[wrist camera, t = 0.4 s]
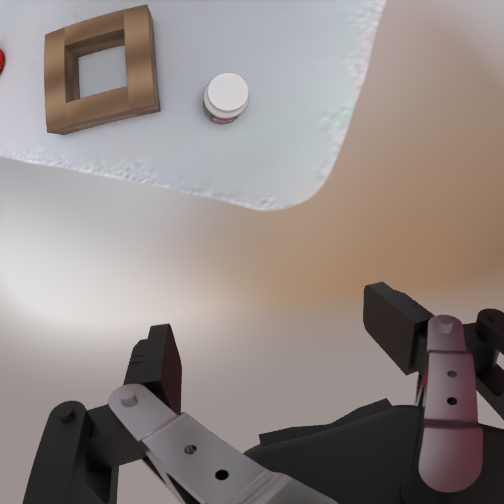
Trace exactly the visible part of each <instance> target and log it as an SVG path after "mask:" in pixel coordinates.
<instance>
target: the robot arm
mask: <svg viewBox="0 0 504 504" xmlns="http://www.w3.org/2000/svg"><path fill="white" fill-rule="evenodd" d="M363 322H364V326H365V329H366V331H367V332H368V333H369V334H370V335H371V337H373V339H374V340H375V341H376V342H377V343H378V344H379V345H380V347H381V348H382V349H383V350H384V351H385V352H386V353H387V354H388V356H389V357H390V358H391V359H392V360H393V361H394V362H395V363H396V365H397V366H398V367H399V368H400V369H401V370H402V371H403V372H404V374H405V375H409V374H411V373H414V372H416V371H418V372H419V375H418V379H417V387H416V395H415V402H414V405H395V406H392V405H391V404H390V402H389V401H388V399H386V398H385V399H383V400H380V401H377V402H374V403H372V404H369V405H366V406H363V407H360V408H358V409H356V410H354V411H352V412H351V413H349V414H347V415H345V416H344V417H342V418H340V419H338V420H336V421H335V422H333V423H331V424H327V425H317V426H302V427H291V428H286V429H282V430H278V431H273V432H269V433H264V434H259V438H260V444H259V445H257V446H254V447H253V448H251V449H249V450H247V451H246V452H244V453H243V454H242V453H241V452H239V451H238V450H236V449H235V448H233V447H232V446H231V445H229V444H228V443H226V442H225V441H223V440H222V439H220V438H219V437H218V436H216V435H215V434H214V433H212V432H211V431H210V430H208V429H207V428H206V427H204V426H203V425H202V424H200V423H199V422H198V421H196V420H195V419H194V418H192V417H191V416H190V415H189V414H187V413H185V412H183V413H181V382H182V366H181V360H180V356H179V352H178V349H177V346H176V342H175V339H174V335H173V332H172V328H171V326H170V324H162V325H155V326H151V327H150V331H149V336H148V339H144V340H140V341H139V342H138V343H137V344H136V345H135V347H134V348H133V351H132V355H131V358H130V361H129V365H128V369H127V372H126V376H125V380H124V384H123V386H121V387H119V388H117V389H116V390H115V391H113V393H112V394H111V395H110V397H109V399H108V404H107V405H104V406H101V407H97V408H94V409H91V410H86V408H85V407H84V405H83V404H82V403H80V402H78V401H67V402H64V403H61V404H59V405H58V406H57V407H55V408H54V409H53V410H52V411H51V413H50V415H49V418H48V420H47V423H46V426H45V429H44V432H43V435H42V438H41V441H40V444H39V447H38V450H37V453H36V457H35V460H34V463H33V467H32V470H31V474H30V477H29V481H28V485H27V488H26V492H25V496H24V500H23V504H117V486H118V472H119V465H123V464H126V463H129V462H133V461H136V460H139V459H141V461H142V462H143V463H144V464H145V465H146V466H147V467H148V469H149V470H150V471H151V472H152V473H153V474H154V475H155V476H156V477H157V478H158V479H159V480H160V481H161V482H162V483H163V484H164V485H165V486H166V488H168V490H170V492H171V493H172V494H173V495H174V496H175V497H176V498H177V500H178V501H179V502H180V503H181V504H504V429H500V428H496V427H492V426H488V425H484V424H480V423H478V410H477V393H476V390H477V391H478V392H479V393H480V394H481V395H482V396H483V397H484V399H485V400H486V401H487V402H488V403H489V404H490V405H491V406H492V407H493V409H494V410H495V411H496V412H497V413H498V414H499V415H500V416H501V417H502V419H503V420H504V370H503V369H502V368H501V367H500V366H499V365H498V364H496V361H497V358H498V355H499V352H501V353H502V354H503V355H504V313H503V312H502V311H499V310H496V309H484V310H481V311H480V312H479V313H478V316H477V321H476V323H469V324H462V322H461V321H460V320H459V319H457V318H456V317H453V316H450V315H438V316H434V315H433V314H432V313H430V312H429V311H428V310H426V309H425V308H423V306H421V305H420V304H418V303H417V302H416V301H415V300H412V298H410V297H409V296H408V295H406V294H405V293H402V292H399V291H396V290H393V289H392V288H390V287H389V286H388V285H386V284H385V283H384V282H379V283H374V284H370V285H367V286H365V288H364V308H363Z"/></svg>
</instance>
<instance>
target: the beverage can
mask: <svg viewBox="0 0 504 504" xmlns="http://www.w3.org/2000/svg"><path fill="white" fill-rule="evenodd" d="M2 65H3V53H2V51H1V50H0V70H1V68H2Z"/></svg>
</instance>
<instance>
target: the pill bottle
mask: <svg viewBox="0 0 504 504" xmlns="http://www.w3.org/2000/svg"><path fill="white" fill-rule="evenodd" d="M248 100H249V88H248V85H247V83H246V81H245V80H244V79H243V78H242V77H240V76H239V75H237V74H234V73H223V74H220V75H218V76H216V77H215V78H214V79H213V80H212V81H211V82H210V83H209V84H208V85H207V87H206V88H205V91H204V96H203V111H204V114H205V115H206V117H207V118H208V119H209V120H210V121H212V122H214V123H216V124H228V123H231V122H232V121H234V120H235V119H237V118H238V116H239V115H240V114H241V113H242V112H243V111H244V109H245V108H246V106H247V104H248Z"/></svg>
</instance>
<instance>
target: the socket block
mask: <svg viewBox="0 0 504 504" xmlns="http://www.w3.org/2000/svg"><path fill="white" fill-rule="evenodd" d="M124 44H125V55H126V71H127V85H128V86H127V87H122V88H118V89H114V90H110V91H106V92H102V93H99V94H95V95H91V96H88V97H84V98H81V99H80V92H79V69H78V57H81V56H84V55H87V54H91V53H94V52H97V51H101V50H105V49H108V48H112V47H116V46H120V45H124ZM44 87H45V110H46V124H47V133H54V134H61V135H65V134H69V133H72V132H75V131H79V130H82V129H86V128H90V127H93V126H97V125H101V124H105V123H109V122H113V121H117V120H122V119H126V118H131V117H135V116H140V115H145V114H150V113H155V112H160V104H159V94H158V84H157V73H156V62H155V49H154V34H153V20H152V17H151V14H150V11H149V8H148V5H143V6H138V7H133V8H129V9H125V10H121V11H117V12H113V13H109V14H106V15H102V16H98V17H95V18H92V19H89V20H85V21H82V22H79V23H76V24H73V25H70V26H67V27H65V28H62V29H59V30H57V31H54V32H51V33H49V34H46V35H45V52H44Z"/></svg>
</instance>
